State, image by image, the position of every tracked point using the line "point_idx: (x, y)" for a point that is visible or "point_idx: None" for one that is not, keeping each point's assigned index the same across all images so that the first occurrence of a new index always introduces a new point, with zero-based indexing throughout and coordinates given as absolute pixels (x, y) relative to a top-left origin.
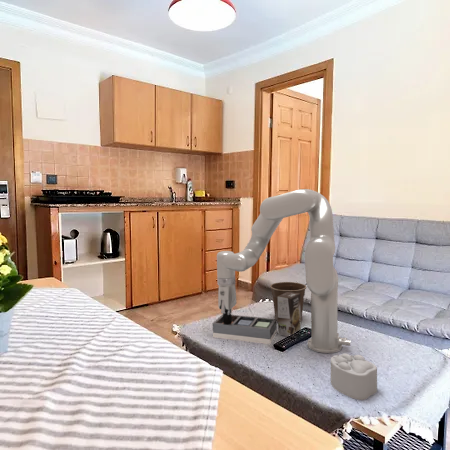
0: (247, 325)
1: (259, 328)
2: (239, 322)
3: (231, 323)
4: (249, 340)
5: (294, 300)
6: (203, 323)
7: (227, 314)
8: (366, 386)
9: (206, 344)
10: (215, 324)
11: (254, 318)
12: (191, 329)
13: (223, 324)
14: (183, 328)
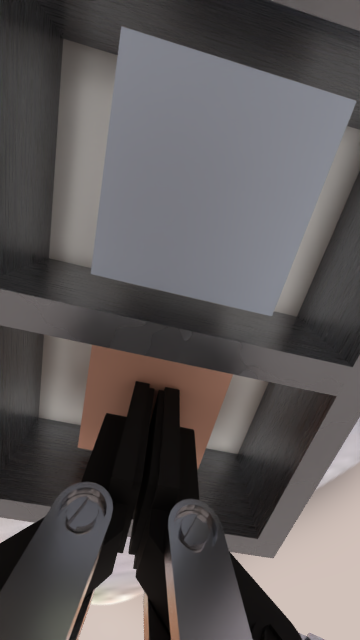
0: (339, 136)
1: None
2: (213, 288)
3: (146, 377)
4: None
5: None
6: (7, 518)
7: (217, 547)
8: None
9: (350, 459)
10: (283, 529)
11: None
12: (118, 553)
13: (320, 473)
14: (110, 582)
